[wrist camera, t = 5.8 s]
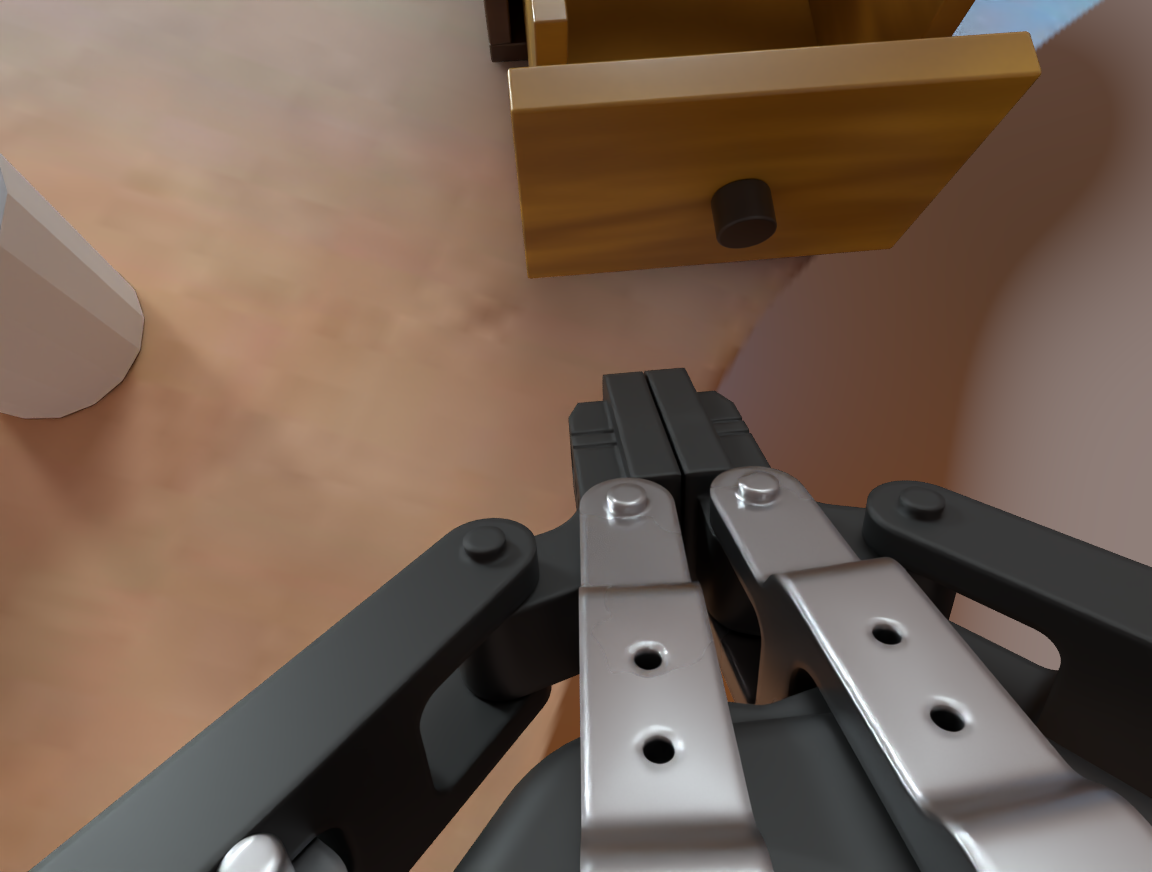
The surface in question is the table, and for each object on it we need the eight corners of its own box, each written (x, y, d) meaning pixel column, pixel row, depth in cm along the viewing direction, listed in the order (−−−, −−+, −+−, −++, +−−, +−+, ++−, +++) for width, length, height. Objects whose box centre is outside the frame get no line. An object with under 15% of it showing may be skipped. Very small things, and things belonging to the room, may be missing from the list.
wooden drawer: (899, 283, 23) (1059, 119, 16) (530, 314, 23) (515, 160, 15) (815, -75, 27) (913, -346, 20) (497, -55, 27) (471, -324, 19)
